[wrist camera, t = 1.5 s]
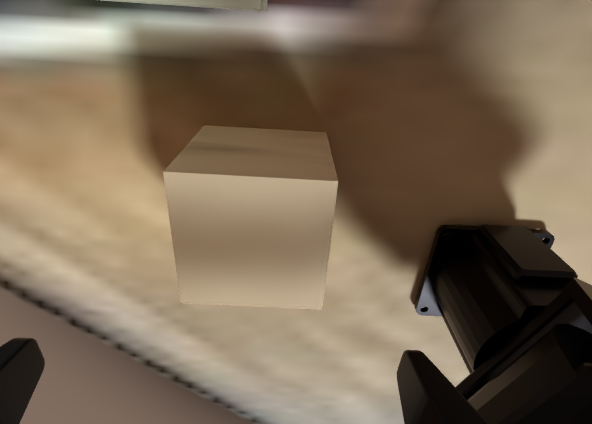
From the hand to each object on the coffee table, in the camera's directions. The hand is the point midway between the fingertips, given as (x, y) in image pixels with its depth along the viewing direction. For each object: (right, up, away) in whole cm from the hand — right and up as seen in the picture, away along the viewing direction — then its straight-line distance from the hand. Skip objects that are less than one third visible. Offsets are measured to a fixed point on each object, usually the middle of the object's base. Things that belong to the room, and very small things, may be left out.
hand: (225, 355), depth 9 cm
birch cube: (0, +5, +10) cm, 11 cm away
